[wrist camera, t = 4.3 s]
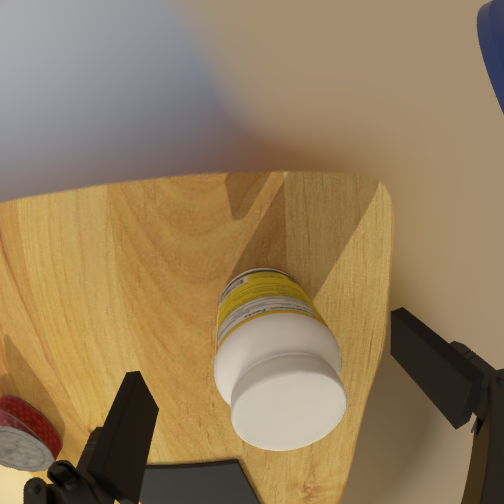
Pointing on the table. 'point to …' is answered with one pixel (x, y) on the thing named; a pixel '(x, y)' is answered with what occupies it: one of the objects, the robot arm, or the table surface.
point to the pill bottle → (276, 362)
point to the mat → (197, 484)
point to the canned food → (26, 437)
